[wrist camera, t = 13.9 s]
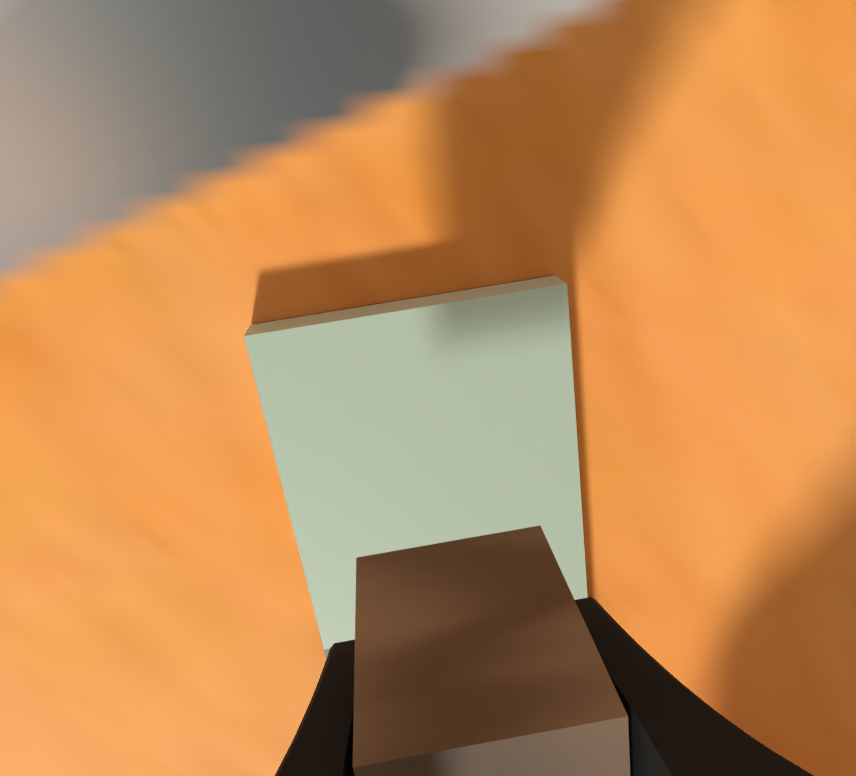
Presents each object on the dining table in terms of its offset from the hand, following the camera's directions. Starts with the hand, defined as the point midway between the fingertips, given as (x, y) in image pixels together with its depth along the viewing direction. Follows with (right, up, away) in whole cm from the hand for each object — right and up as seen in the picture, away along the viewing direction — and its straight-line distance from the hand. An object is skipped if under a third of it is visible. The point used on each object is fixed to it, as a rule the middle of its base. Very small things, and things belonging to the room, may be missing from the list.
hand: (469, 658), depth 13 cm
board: (0, -2, +10) cm, 10 cm away
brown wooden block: (0, 0, +2) cm, 2 cm away
